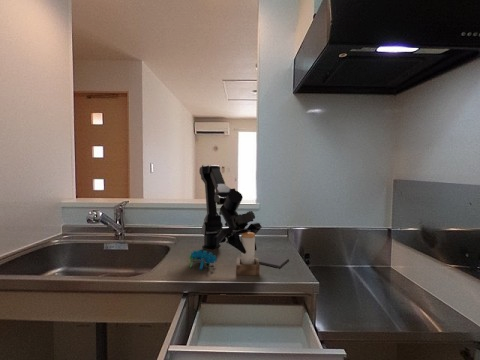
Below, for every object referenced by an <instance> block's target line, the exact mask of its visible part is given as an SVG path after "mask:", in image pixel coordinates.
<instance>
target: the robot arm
mask: <svg viewBox="0 0 480 360" xmlns="http://www.w3.org/2000/svg"><path fill="white" fill-rule="evenodd" d="M199 175H200V179H201V181H202V182H203V183H204V191H205V193H204V194H205V203H206V204H205V205H206V215H205V217H204V219H203V224H202V227H201V234H202V235H203V236H204V237H203V239H204V241H203V242H204V244H203V245H202V248H206V249H211V250H214V249H217V248H219V247H221V244H223V243H225V244H228V245H230V246H231V247H234V248H236V249H237V251H239V252H240V253H241V252H242V253H243V254H245V253H246V251H245V248H244V246H243V244H242V242H241V237H240V235H241V233H243V232H253V233H255V235H256V234H257V233H258V232H259V231H260V230H261V229H262V225H261V223H260V222H254V220H255V219H256V215H255V213H254V212H253V210H250V211H247V212H246V213H242V214H239V213H238V211H237V210H238V208H239V207H240V204H241V203H242V200H243V194H242V193H241V192H239V191H238V190H236V188H231V187H229V186H228V185H227V184H226V182H225V180H224V177H223V174H222V172H221V166H220V165H218V164H202V166H200V167H199ZM219 205H220V208H219V211H218V210H217V206H219ZM217 211H218V212H217ZM221 216H222V217H221ZM222 218H223V220H224V221H225V223H224V225H223V222H222ZM250 222H252V223H250ZM249 223H250V224H249ZM223 226H225V227H226V228H223ZM247 226H248V227H247ZM226 239H227V241H226ZM256 243H257V242H255V251H257V244H256Z"/></svg>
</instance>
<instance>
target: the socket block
mask: <svg viewBox="0 0 480 360" xmlns="http://www.w3.org/2000/svg"><path fill="white" fill-rule="evenodd" d="M235 268H236V274H235V275H236V276H260V264H259V258H258V257H255V264H254V265H250V264H241V257H236V267H235Z"/></svg>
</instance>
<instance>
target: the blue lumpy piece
mask: <svg viewBox="0 0 480 360" xmlns="http://www.w3.org/2000/svg"><path fill="white" fill-rule="evenodd" d="M192 251H193V252H191V253H190V254H189V256H188V259H189V261H190V265H189V269H190V268H192V267H193V264H194V263H195V264H196V263H200V265H199V270H201V271H202V270H203V267H204V263H206V264H207V265H210V264H214V263H215V262H217V255H215V254H214V255H213V252H210V251H209V252H208V251H207V250H201V249H197V250H192Z"/></svg>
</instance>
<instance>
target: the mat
mask: <svg viewBox="0 0 480 360" xmlns="http://www.w3.org/2000/svg"><path fill="white" fill-rule="evenodd" d="M289 259H290V258H289V257H284V256H280V255H274V254H269V253H266V254H265V255H263V256H261V257H260V258H258V260H259V265H265V266H268V267H269V266H270V267H273V268H279V269H280V268H281V267H283V266H284V265H285V264H287V262H289Z"/></svg>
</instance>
